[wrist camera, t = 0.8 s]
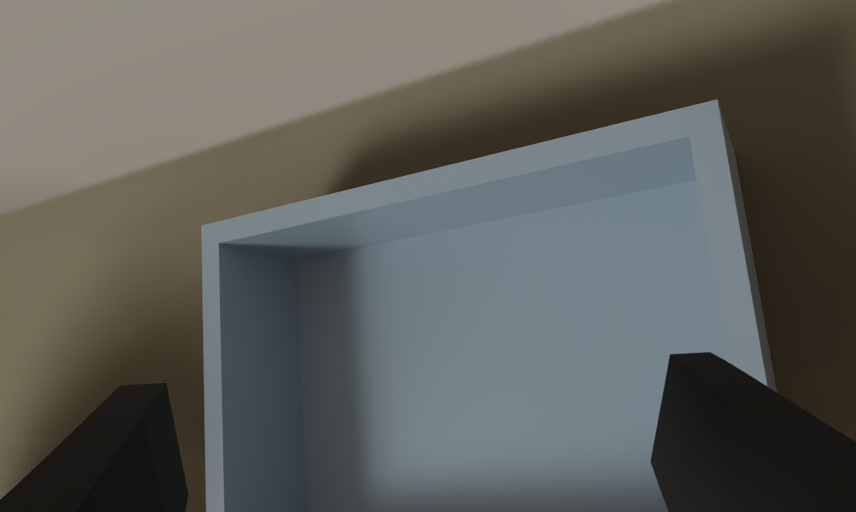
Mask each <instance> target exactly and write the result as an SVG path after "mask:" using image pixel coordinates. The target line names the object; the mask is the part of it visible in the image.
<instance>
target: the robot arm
mask: <svg viewBox="0 0 856 512" xmlns="http://www.w3.org/2000/svg"><path fill="white" fill-rule="evenodd" d="M650 462H651V465H652V468H653V470H654V473H655V476H656V479H657V482H658V485H659V487H660V490H661V493H662V496H663V498H664V501H665V504H666V506H667V509H668V511H669V512H856V442H855V441H853V440H852V439H850V438H848V437H847V436H845V435H843V434H842V433H840V432H838V431H837V430H835V429H834V428H832V427H830V426H829V425H827V424H826V423H824V422H822V421H821V420H819V419H818V418H816V417H814V416H813V415H811V414H810V413H808V412H807V411H805V410H803V409H802V408H800V407H799V406H797V405H795V404H794V403H792V402H791V401H789V400H788V399H786V398H785V397H783V396H781V395H780V394H778V393H777V392H775V391H774V390H772V389H770V388H769V387H767V386H766V385H764V384H763V383H761V382H759V381H758V380H756V379H755V378H753V377H752V376H750V375H748V374H747V373H745V372H744V371H742V370H740V369H739V368H737V367H735V366H734V365H732V364H730V363H729V362H727V361H725V360H724V359H722V358H720V357H718V356H716V355H715V354H713V353H711V352H702V353H684V354H670V357H669V362H668V368H667V373H666V379H665V384H664V390H663V395H662V401H661V406H660V412H659V417H658V423H657V428H656V434H655V439H654V445H653V450H652V456H651V461H650ZM187 498H188V491H187V486H186V481H185V476H184V471H183V466H182V461H181V456H180V451H179V446H178V441H177V436H176V431H175V426H174V421H173V416H172V410H171V405H170V400H169V395H168V390H167V385H166V383H159V384H142V385H124V386H120V387H119V388H118V389H117V390H115V391H114V392H113V393H112V394H111V395H110V396H109V397H108V398H107V399H106V400H105V401H104V402H103V403H102V404H101V405H100V406H99V407H98V408H97V409H96V410H94V411H93V412H92V413H91V414H90V415H89V416H88V417H87V418H86V419H85V420H84V421H83V422H82V423H81V424H80V425H79V426H78V427H77V428H76V429H75V430H74V431H73V432H72V433H71V434H70V435H69V436H68V437H67V438H66V439H65V440H64V441H63V442H62V443H61V444H60V445H59V446H58V447H57V448H55V449H54V450H53V451H52V452H51V453H50V454H49V455H48V456H47V457H46V458H45V459H44V460H43V461H42V462H41V463H40V464H38V465H37V466H36V467H35V468H34V469H33V470H32V471H31V472H30V473H29V474H28V475H27V476H26V477H25V478H24V479H23V480H22V481H20V482H19V483H18V484H17V485H16V486H15V487H14V488H13V489H12V490H11V491H10V492H9V493H7V494H6V495H5V496H4V497H3V498H2V499H0V512H185V511H186V505H187Z"/></svg>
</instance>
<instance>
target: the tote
mask: <svg viewBox="0 0 856 512" xmlns="http://www.w3.org/2000/svg"><path fill="white" fill-rule="evenodd" d="M201 233H202V294H203V355H204V416H205V477H206V512H669V511H668V509H667V506H666V504H665V501H664V498H663V496H662V493H661V490H660V487H659V485H658V482H657V479H656V476H655V473H654V470H653V468H652V465H651V462H650V461H651V456H652V450H653V445H654V439H655V434H656V428H657V423H658V417H659V412H660V406H661V401H662V395H663V390H664V384H665V379H666V373H667V368H668V362H669V357H670V354H684V353H702V352H711V353H713V354H715V355H716V356H718V357H720V358H722V359H724V360H725V361H727V362H729V363H730V364H732V365H734V366H735V367H737V368H739V369H740V370H742V371H744V372H745V373H747V374H748V375H750V376H752V377H753V378H755V379H756V380H758V381H759V382H761V383H763V384H764V385H766V386H767V387H769V388H770V389H772V390H774V391H775V392H777V389H776V383H775V377H774V372H773V366H772V360H771V355H770V349H769V343H768V338H767V332H766V326H765V321H764V315H763V309H762V304H761V298H760V292H759V286H758V281H757V275H756V269H755V264H754V258H753V252H752V247H751V241H750V235H749V230H748V224H747V218H746V213H745V207H744V201H743V196H742V190H741V184H740V179H739V173H738V167H737V162H736V156H735V151H734V148H733V145H732V142H731V139H730V136H729V133H728V130H727V127H726V124H725V121H724V118H723V115H722V112H721V109H720V106H719V102H718V99H716V100H712V101H708V102H704V103H700V104H696V105H692V106H688V107H684V108H680V109H676V110H671V111H667V112H663V113H659V114H655V115H651V116H647V117H643V118H639V119H635V120H631V121H627V122H622V123H618V124H614V125H610V126H606V127H602V128H598V129H594V130H590V131H586V132H582V133H578V134H573V135H569V136H565V137H561V138H557V139H553V140H549V141H545V142H541V143H537V144H533V145H529V146H524V147H520V148H516V149H512V150H508V151H504V152H500V153H496V154H492V155H488V156H484V157H480V158H475V159H471V160H467V161H463V162H459V163H455V164H451V165H447V166H443V167H439V168H435V169H431V170H426V171H422V172H418V173H414V174H410V175H406V176H402V177H398V178H394V179H390V180H386V181H382V182H377V183H373V184H369V185H365V186H361V187H357V188H353V189H349V190H345V191H341V192H337V193H333V194H328V195H324V196H320V197H316V198H312V199H308V200H304V201H300V202H296V203H292V204H288V205H284V206H279V207H275V208H271V209H267V210H263V211H259V212H255V213H251V214H247V215H243V216H239V217H235V218H230V219H226V220H222V221H218V222H214V223H210V224H206V225H202V226H201Z"/></svg>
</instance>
